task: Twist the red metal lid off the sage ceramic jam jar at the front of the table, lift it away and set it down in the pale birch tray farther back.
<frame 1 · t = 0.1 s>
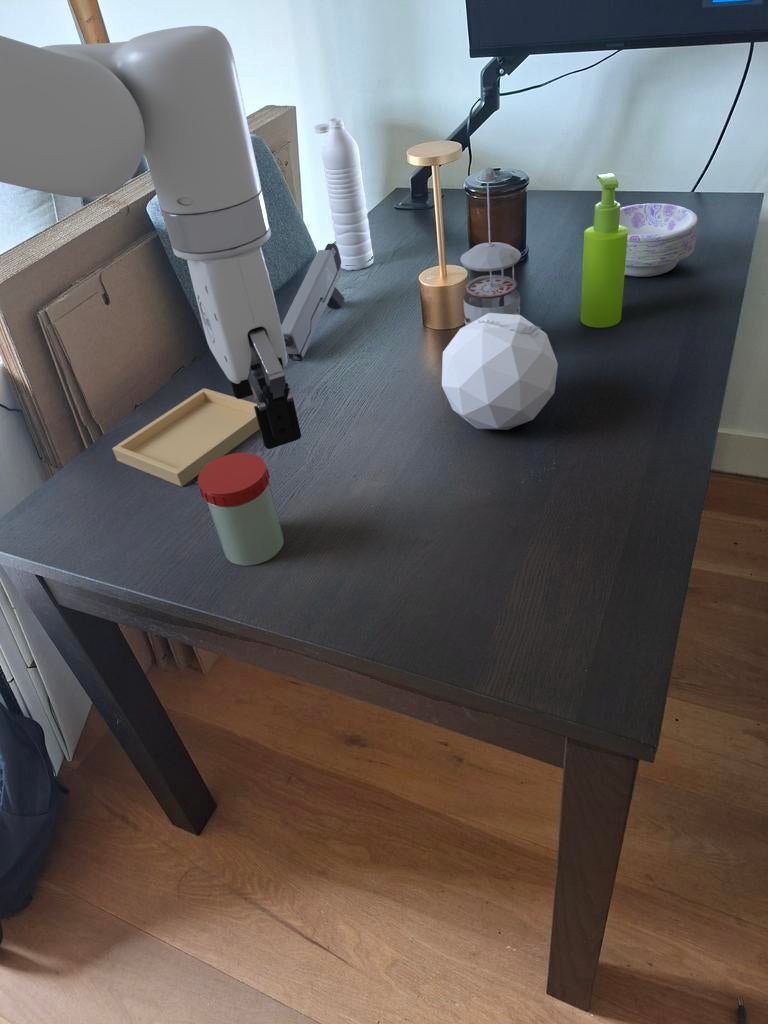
hand: (266, 416, 68), 18 cm above the table, tool pointing down, fingers open, 9 cm apart
gun: (319, 331, 122), on the table
tray: (195, 439, 101), on the table
french press: (495, 347, 111), on the table
jam jar: (254, 545, 82), on the table
geodesic sphere: (499, 421, 96), on the table
paper bowls: (643, 267, 126), on the table
soap dispenser: (599, 318, 114), on the table
water bottle: (353, 267, 142), on the table
jar lid: (232, 475, 76), point 9 cm above the table, screwed on, not yet turned
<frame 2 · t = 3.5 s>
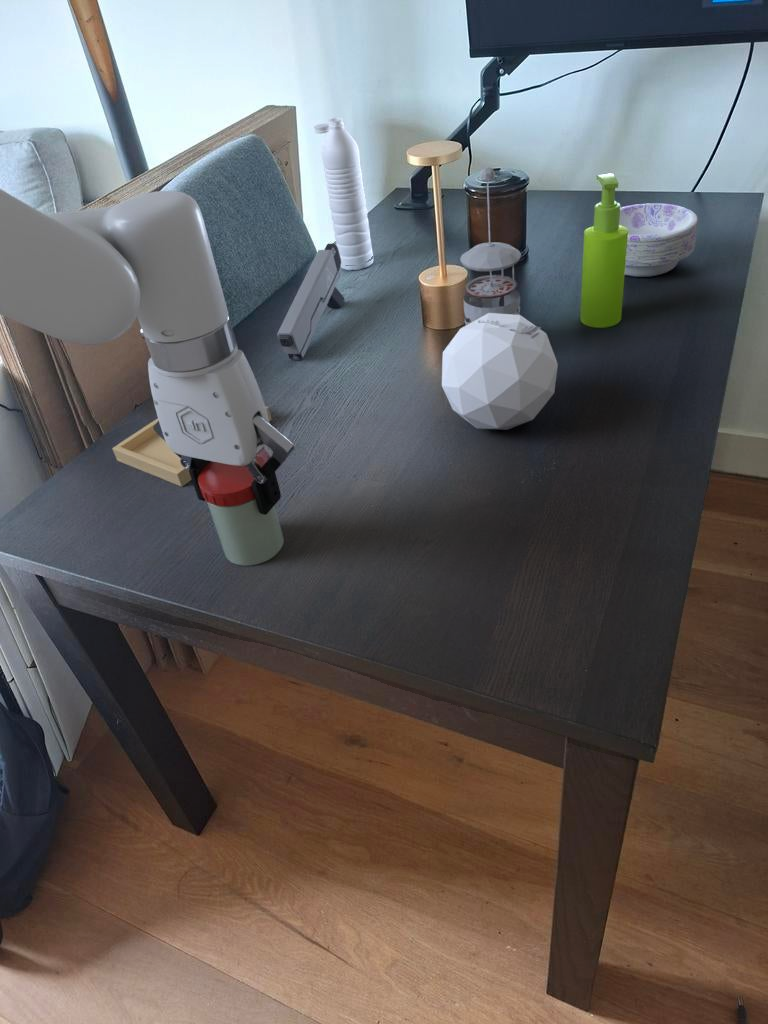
hand: (239, 498, 78), 6 cm above the table, tool pointing down, fingers closed on jar lid, 7 cm apart
jar lid: (232, 475, 76), point 9 cm above the table, screwed on, not yet turned, touching gripper
everything else where it was.
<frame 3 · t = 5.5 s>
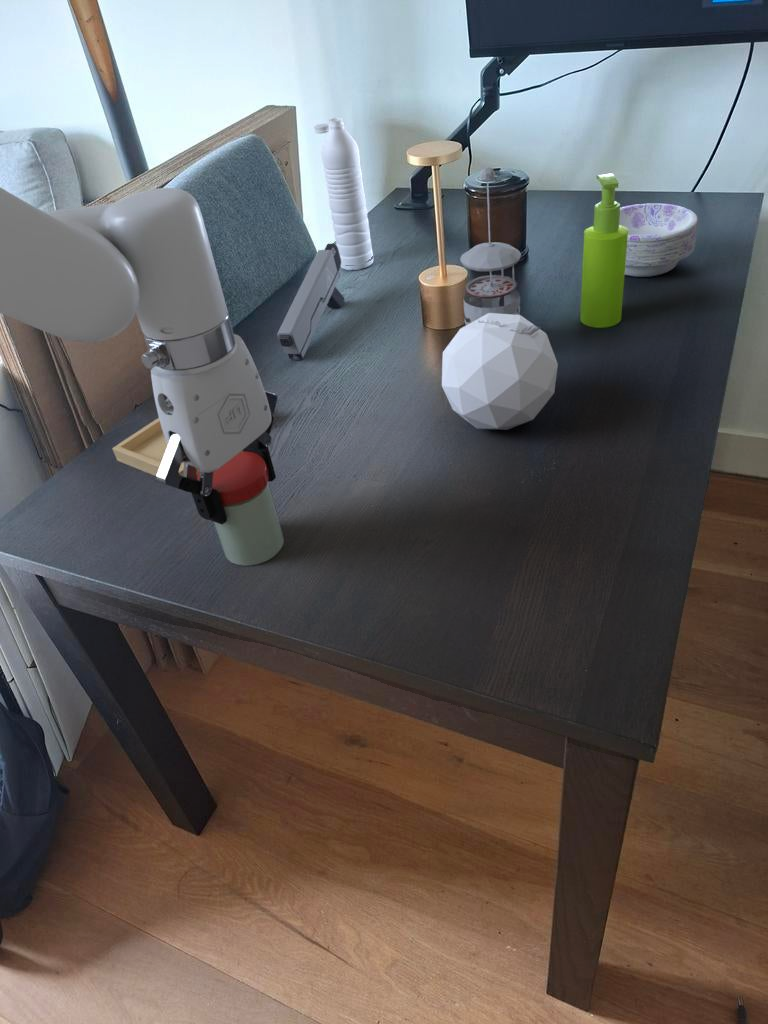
hand: (239, 496, 78), 7 cm above the table, tool pointing down, fingers closed on jar lid, 7 cm apart
jar lid: (232, 473, 76), point 10 cm above the table, turned 82° so far, risen 0.2 cm, still on its thread, touching gripper
everything else where it was.
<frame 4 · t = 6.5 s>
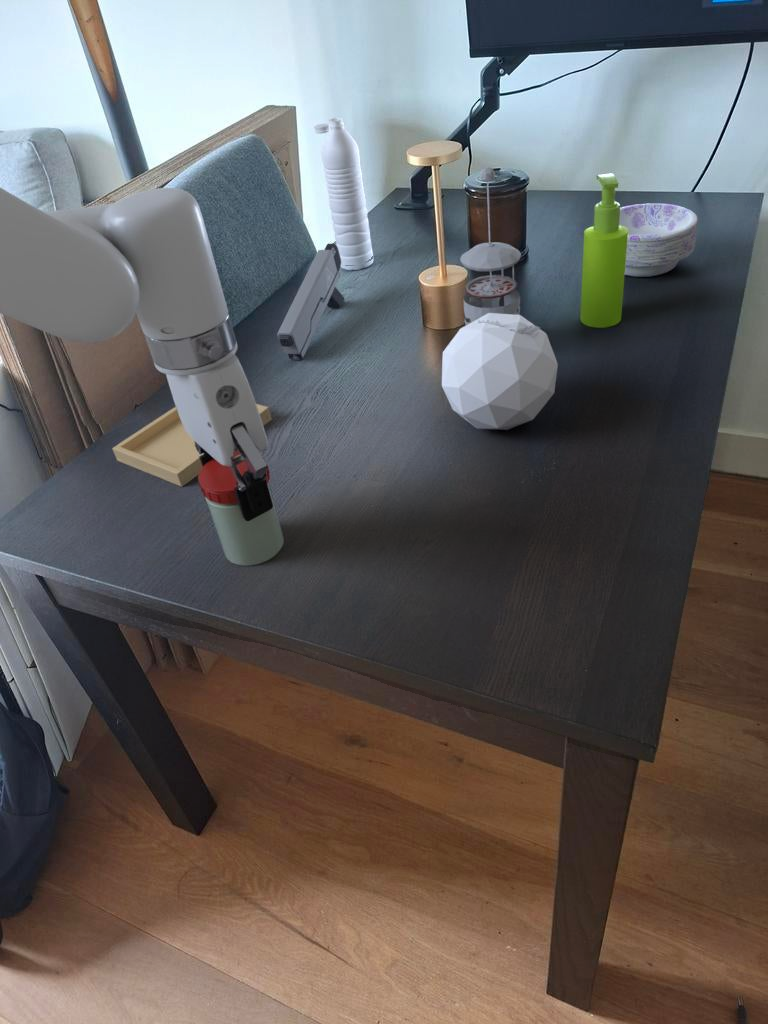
hand: (240, 496, 78), 7 cm above the table, tool pointing down, fingers closed on jar lid, 7 cm apart
jar lid: (233, 472, 76), point 10 cm above the table, off its thread, touching gripper
everything else where it was.
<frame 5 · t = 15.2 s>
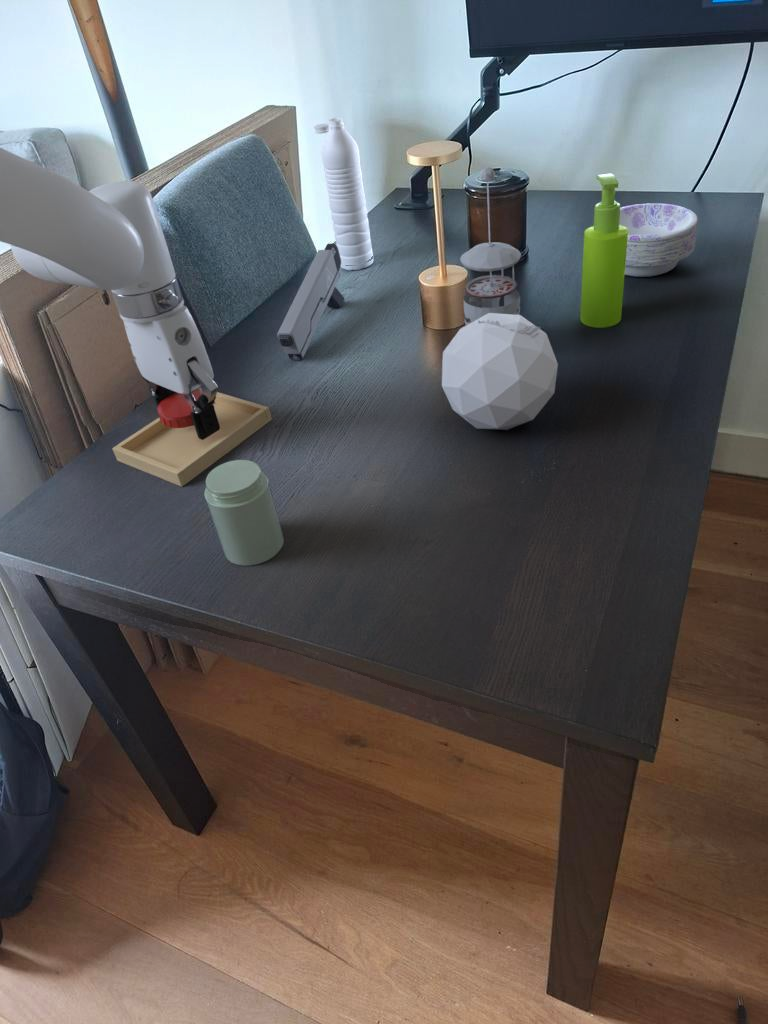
hand: (191, 425, 99), 2 cm above the table, tool pointing down, fingers closed on jar lid, 7 cm apart
jar lid: (184, 405, 97), point 5 cm above the table, off its thread, touching gripper
everything else where it was.
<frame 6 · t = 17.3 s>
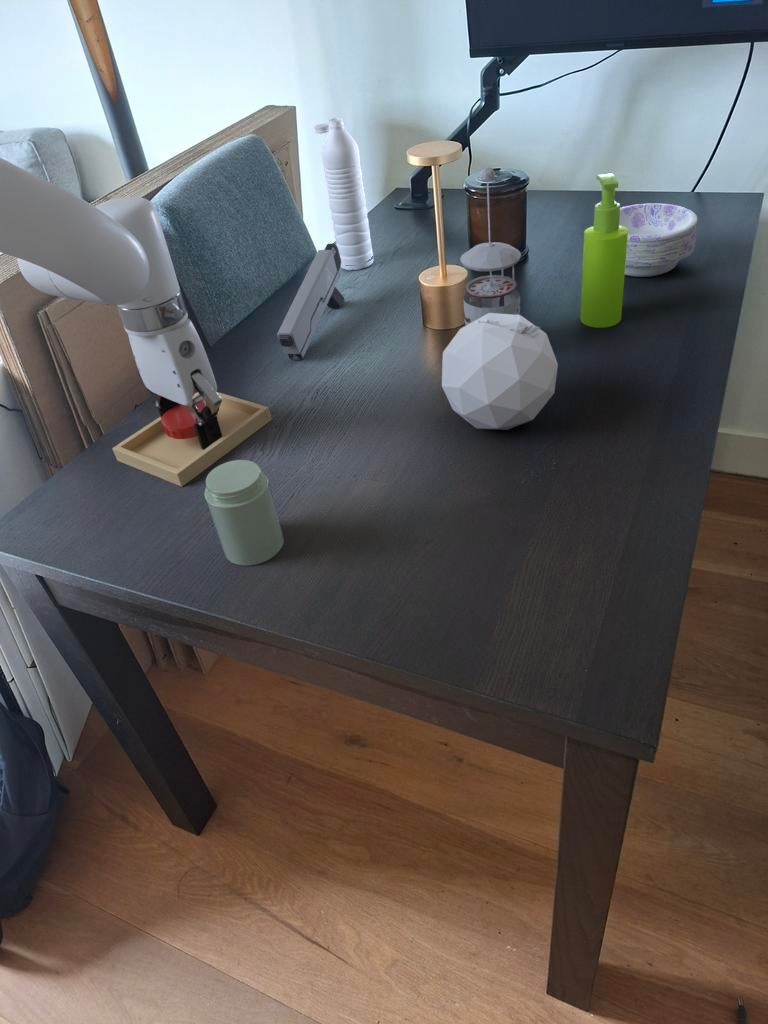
hand: (194, 435, 100), 1 cm above the table, tool pointing down, fingers closed on jar lid, 6 cm apart
jar lid: (188, 416, 98), point 4 cm above the table, off its thread, touching gripper
everything else where it was.
when the fingers open (2 cm above the table, at t = 27.1 s): jar lid drops 3 cm, resting on tray.
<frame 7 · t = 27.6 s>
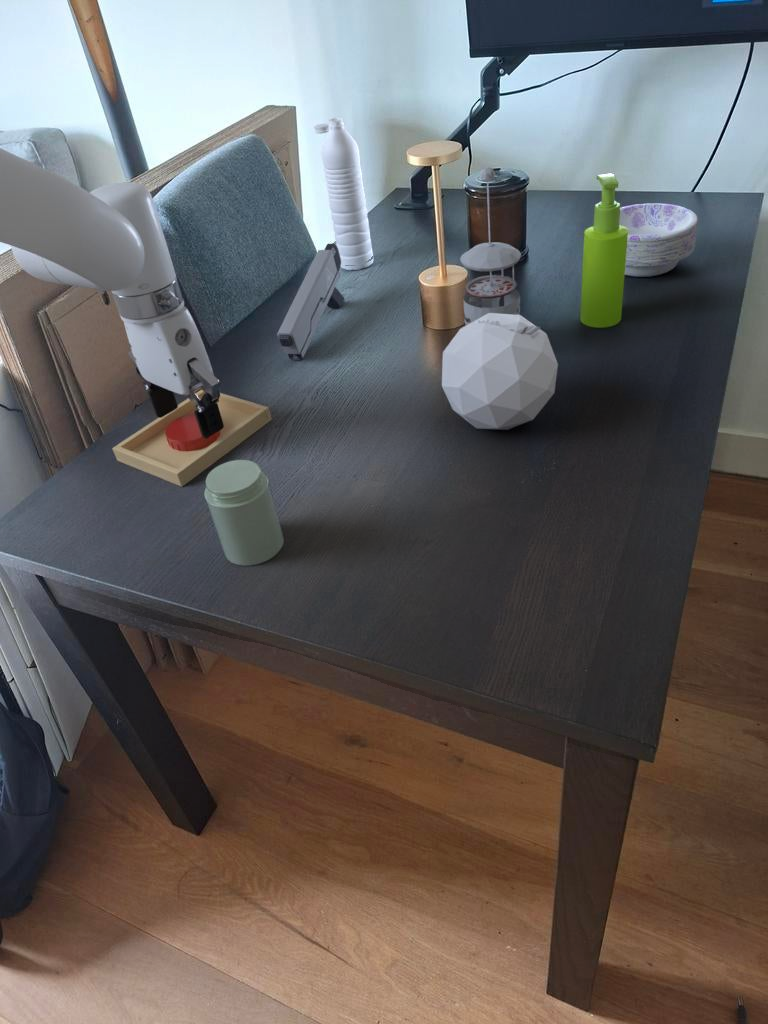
hand: (190, 422, 99), 3 cm above the table, tool pointing down, fingers open, 9 cm apart
jar lid: (192, 428, 100), point 2 cm above the table, off its thread, touching tray
everything else where it was.
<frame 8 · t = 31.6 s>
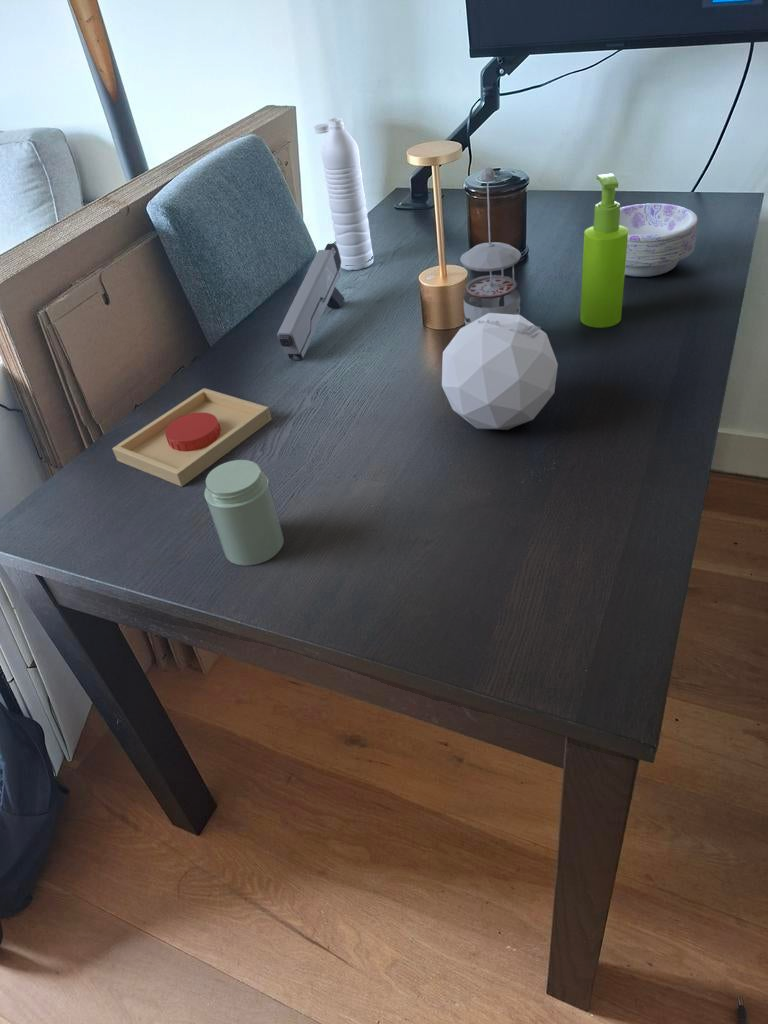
nothing on the table moved.
at the end: jar lid inside the target area on the tray (0.1 cm from its centre), point 1.8 cm above the tray's base; jar lid point 1.8 cm above the table; the gripper is holding nothing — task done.
